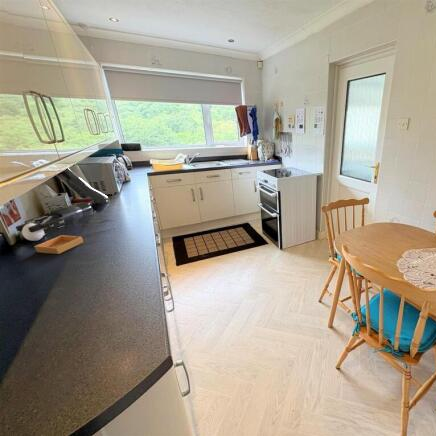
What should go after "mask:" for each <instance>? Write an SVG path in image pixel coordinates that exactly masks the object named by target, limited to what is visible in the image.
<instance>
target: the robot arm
mask: <svg viewBox="0 0 436 436" xmlns="http://www.w3.org/2000/svg"><path fill="white" fill-rule="evenodd" d="M55 176H56V177H58V178H59V179H60V180H61V181H62V182H63V183H64V184H65V185H66V186H67V187H68V189H70V190H71V191H72V192H73V193H75V194H76V195H77V196H78V197H79V198H80V199H83V200H86V199H89V198H90V199H91V201H90V202H88V201H87V202H86V201H80V202H77V203H74V204H69V205H66V206H62V207H59V208H57V209H53V210H51V211H49V214H48V215H44V216H41V217H40V216H36V217H33V218H30V219H28V220H24V223H22V224H19V225H16V226H15V229H16V231H17V232H22V229H23V227H24V226H25V225H27V224H29V223H34V224H37V225H35V226H32V227H29V228H28V229H29V231H30V232H35V231H38V230H41V229H43V230H46V229H47V230H50V229H54V228H56V227H59V226H60V227H61V226H66V225H68V224H71V223H73V222H76V221H78V220H80V219H83V218H85V217H88V216H93V215H98V214H102V213H103V212H104V211H105V210H106V209H107V208H108V206H109V205H110V204H111V202H110V198H109V197H108V196H107V195H105V194H104V193H102V192H101V191H99V190H97V189H94V188H93V187H91V186H90V185H89V184H88V183H87V182H86V181H85V180H83V179H82V178H81V177H79V176H78V174H76V173H74V172H73V171H72V170H71V169H70V168H69V167H68V169H66V170H65V171H63V172H61V173H59V174H58V175H55Z"/></svg>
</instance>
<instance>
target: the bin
mask: <svg viewBox="0 0 436 436" xmlns="http://www.w3.org/2000/svg"><path fill="white" fill-rule="evenodd" d="M81 244H84V239H83V236H76V235H63V234H62V235H59V236H57V237H56V236H55V237H54V238H51V239H49V240H46V241H44V242H42V243H39V244H36V245H34V249H35V251H36V253H42V254H54V255H59V254H62V253H64V252H66V251H68V250H70V249H73V248H75V247H77V246H79V245H81Z"/></svg>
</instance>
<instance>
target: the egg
mask: <svg viewBox="0 0 436 436" xmlns="http://www.w3.org/2000/svg"><path fill="white" fill-rule="evenodd" d="M35 225H37V224H34V223H29V224H27V225H25V226H24V227H23V229H22V231H21V234H22V236H23V238H24V239H26V240H28V241H31V242H32V241H33V242H35V241H39V240H41V239H42V238H44V236H45V229H41V230H38V231H35V232H30V231H29V229H28V228H29V227H32V226H35Z"/></svg>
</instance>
